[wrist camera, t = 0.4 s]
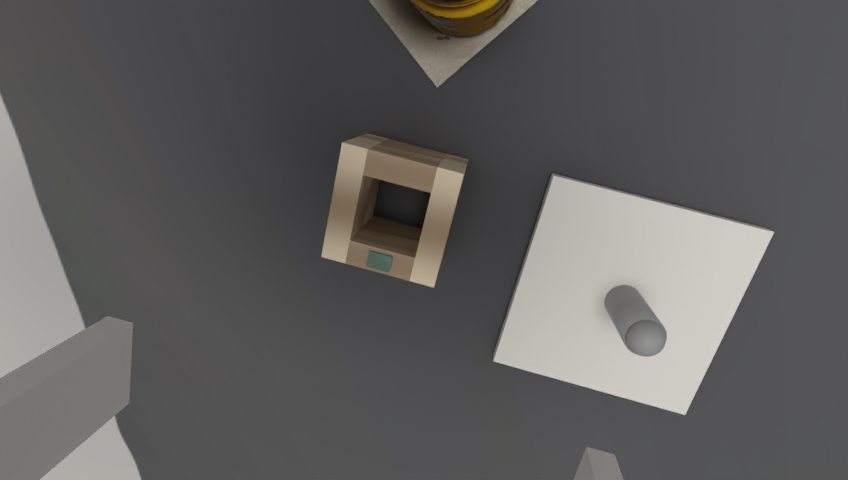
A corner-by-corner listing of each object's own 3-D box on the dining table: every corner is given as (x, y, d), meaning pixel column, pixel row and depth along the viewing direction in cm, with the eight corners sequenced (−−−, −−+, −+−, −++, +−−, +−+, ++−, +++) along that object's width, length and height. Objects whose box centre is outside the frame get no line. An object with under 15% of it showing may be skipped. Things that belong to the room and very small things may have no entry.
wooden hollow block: (367, 133, 33) (341, 142, 27) (468, 159, 33) (463, 174, 27) (348, 229, 35) (320, 258, 30) (443, 255, 35) (433, 288, 29)
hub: (552, 172, 32) (567, 194, 26) (765, 227, 32) (839, 265, 25) (493, 354, 37) (493, 413, 30) (679, 406, 36) (723, 479, 29)
